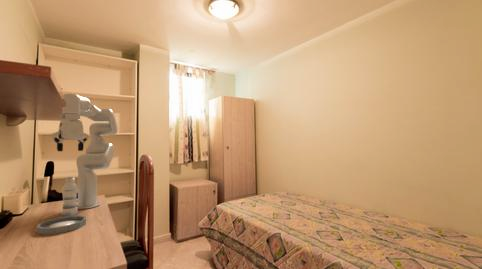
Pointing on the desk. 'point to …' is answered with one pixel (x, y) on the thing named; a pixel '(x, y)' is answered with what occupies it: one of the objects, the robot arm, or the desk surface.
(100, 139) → the robot arm
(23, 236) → the desk surface
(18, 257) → the desk surface
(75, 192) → the plastic bottle
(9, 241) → the desk surface
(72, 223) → the round tray
